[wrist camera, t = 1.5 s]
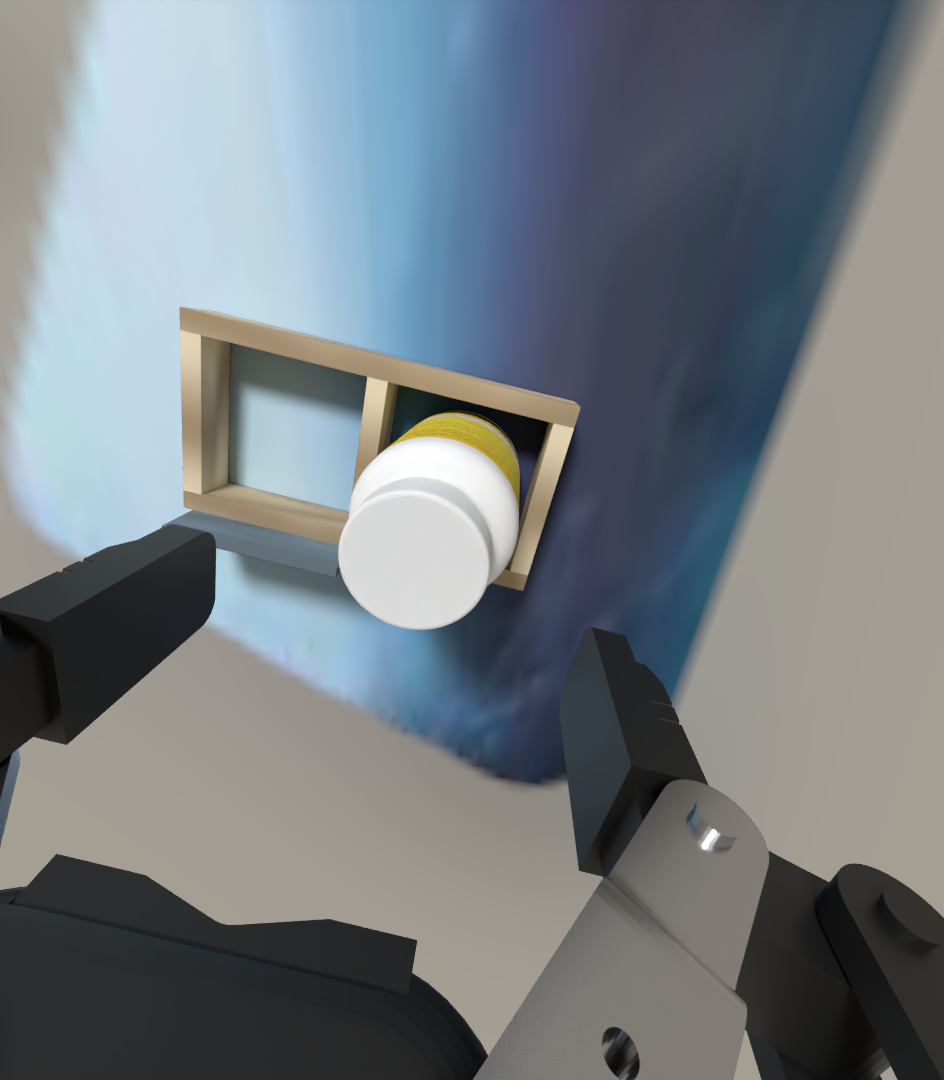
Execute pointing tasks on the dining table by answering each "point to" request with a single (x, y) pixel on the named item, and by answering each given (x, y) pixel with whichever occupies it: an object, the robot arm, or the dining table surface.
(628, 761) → the robot arm
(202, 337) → the rack
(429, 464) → the supplement bottle
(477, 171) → the dining table surface
